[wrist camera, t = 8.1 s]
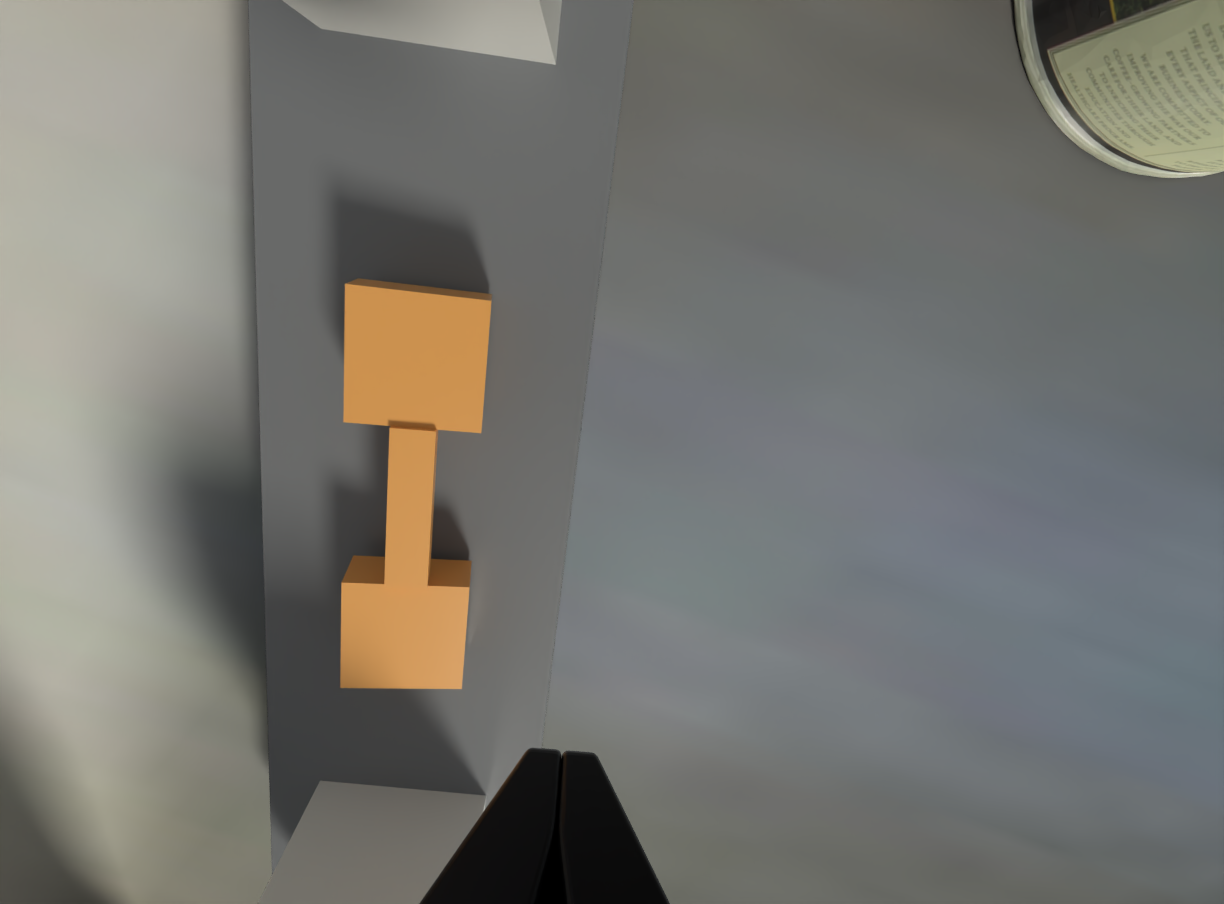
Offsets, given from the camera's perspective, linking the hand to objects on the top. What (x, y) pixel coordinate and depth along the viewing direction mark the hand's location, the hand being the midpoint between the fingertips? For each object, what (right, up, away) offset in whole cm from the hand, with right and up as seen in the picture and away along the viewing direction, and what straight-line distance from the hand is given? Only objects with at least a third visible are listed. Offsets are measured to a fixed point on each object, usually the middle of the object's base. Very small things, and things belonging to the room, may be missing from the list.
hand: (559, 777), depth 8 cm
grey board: (-4, +4, +12) cm, 13 cm away
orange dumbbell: (-4, +3, +9) cm, 11 cm away
